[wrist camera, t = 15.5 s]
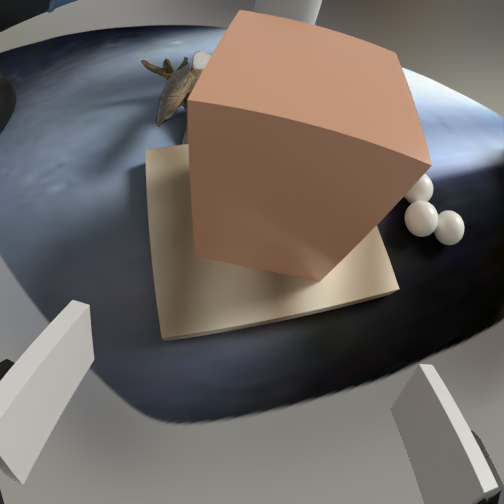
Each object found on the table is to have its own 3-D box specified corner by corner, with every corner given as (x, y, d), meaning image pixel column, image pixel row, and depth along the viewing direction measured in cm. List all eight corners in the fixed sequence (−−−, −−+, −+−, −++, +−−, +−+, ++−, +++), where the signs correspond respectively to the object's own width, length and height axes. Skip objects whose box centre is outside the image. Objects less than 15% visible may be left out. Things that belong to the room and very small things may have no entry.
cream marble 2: (406, 244, 24) (426, 228, 21) (393, 213, 25) (411, 194, 22) (430, 240, 24) (450, 224, 22) (417, 210, 25) (435, 193, 23)
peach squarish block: (320, 281, 20) (431, 165, 9) (195, 255, 19) (187, 99, 8) (326, 182, 23) (395, 53, 12) (222, 158, 23) (239, 9, 12)
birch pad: (165, 341, 18) (161, 338, 17) (147, 161, 23) (145, 149, 22) (388, 294, 22) (399, 289, 20) (331, 146, 27) (336, 135, 25)
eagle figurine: (123, 97, 25) (136, 147, 21) (157, 31, 21) (181, 60, 17) (189, 115, 30) (219, 165, 26) (225, 58, 26) (266, 97, 22)
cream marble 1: (403, 212, 25) (421, 194, 22) (390, 183, 26) (406, 164, 23) (426, 209, 26) (444, 192, 23) (413, 182, 27) (429, 164, 24)
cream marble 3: (434, 252, 24) (455, 237, 21) (422, 222, 25) (441, 205, 22) (455, 247, 24) (475, 233, 22) (443, 219, 25) (461, 203, 23)
